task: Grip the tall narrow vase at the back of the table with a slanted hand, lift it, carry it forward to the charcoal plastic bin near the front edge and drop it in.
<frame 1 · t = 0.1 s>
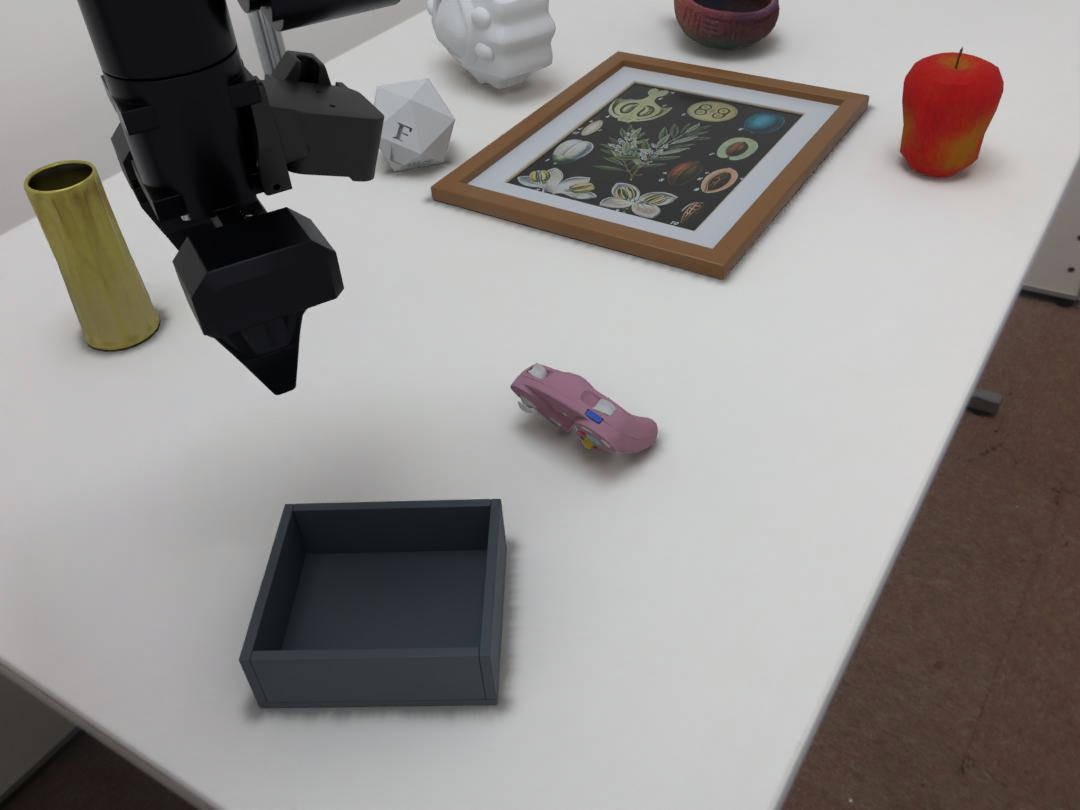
hand: (258, 344, 52), 16 cm above the table, tool pointing down, fingers open, 9 cm apart
picture frame: (660, 153, 102), on the table
apple: (934, 167, 96), on the table
bin: (391, 622, 58), on the table
bowl: (711, 44, 123), on the table
white ridged sculpture: (492, 82, 118), on the table
die: (416, 162, 103), on the table
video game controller: (583, 436, 69), on the table
vase: (124, 331, 83), on the table
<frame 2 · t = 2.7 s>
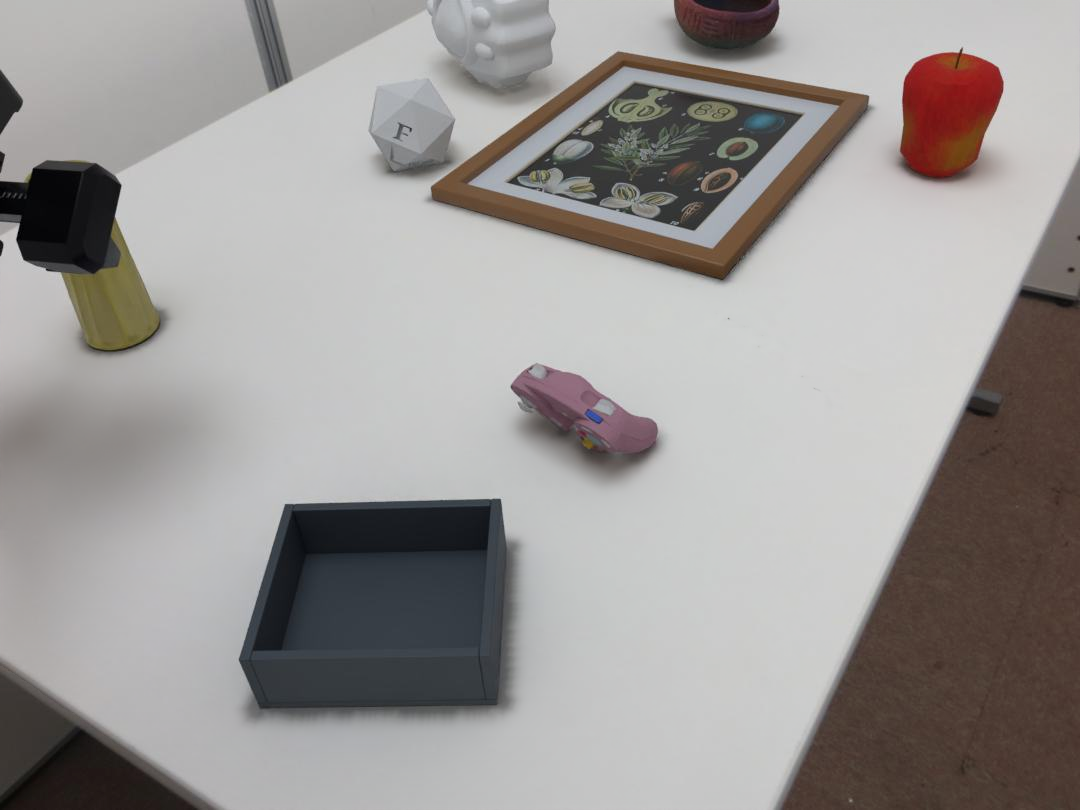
hand: (58, 254, 67), 13 cm above the table, tool tilted 40°, fingers open, 9 cm apart
nothing on the table moved.
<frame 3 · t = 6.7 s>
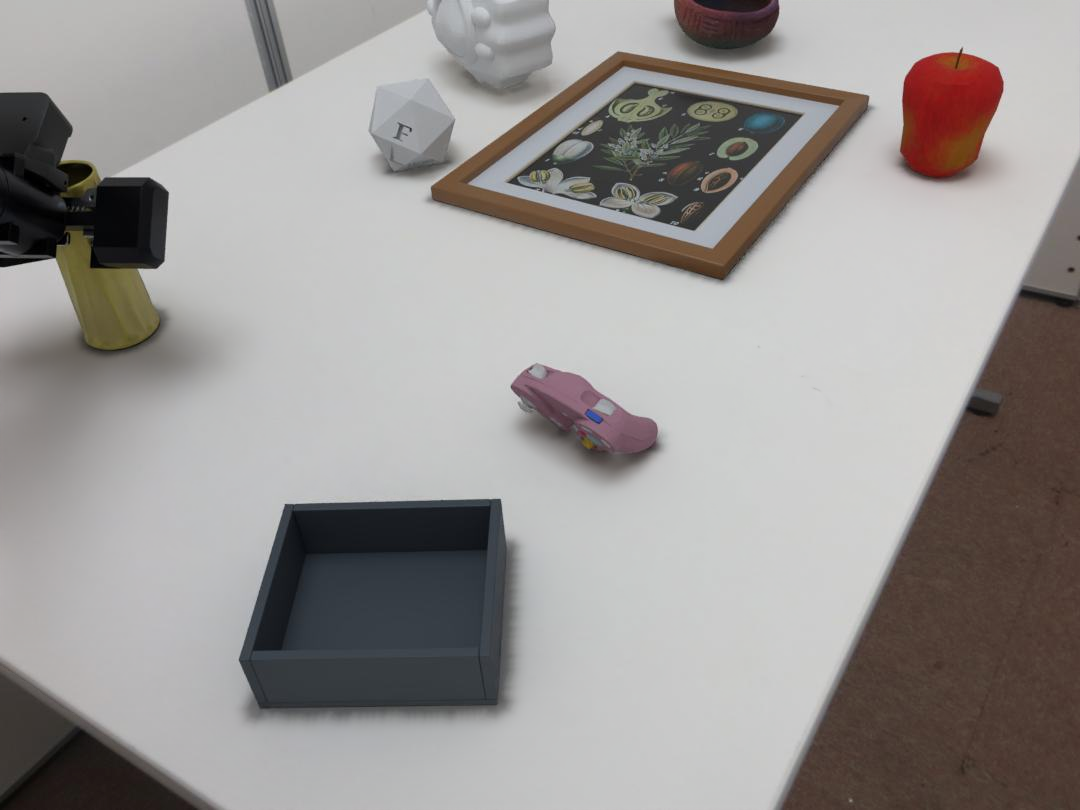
hand: (102, 249, 79), 7 cm above the table, tool tilted 45°, fingers closed on vase, 5 cm apart
vase: (124, 331, 83), on the table, touching gripper
everything else where it was.
when the fingers open (8 cm above the table, at t = 16.5 s): vase stays where it is, resting on bin.
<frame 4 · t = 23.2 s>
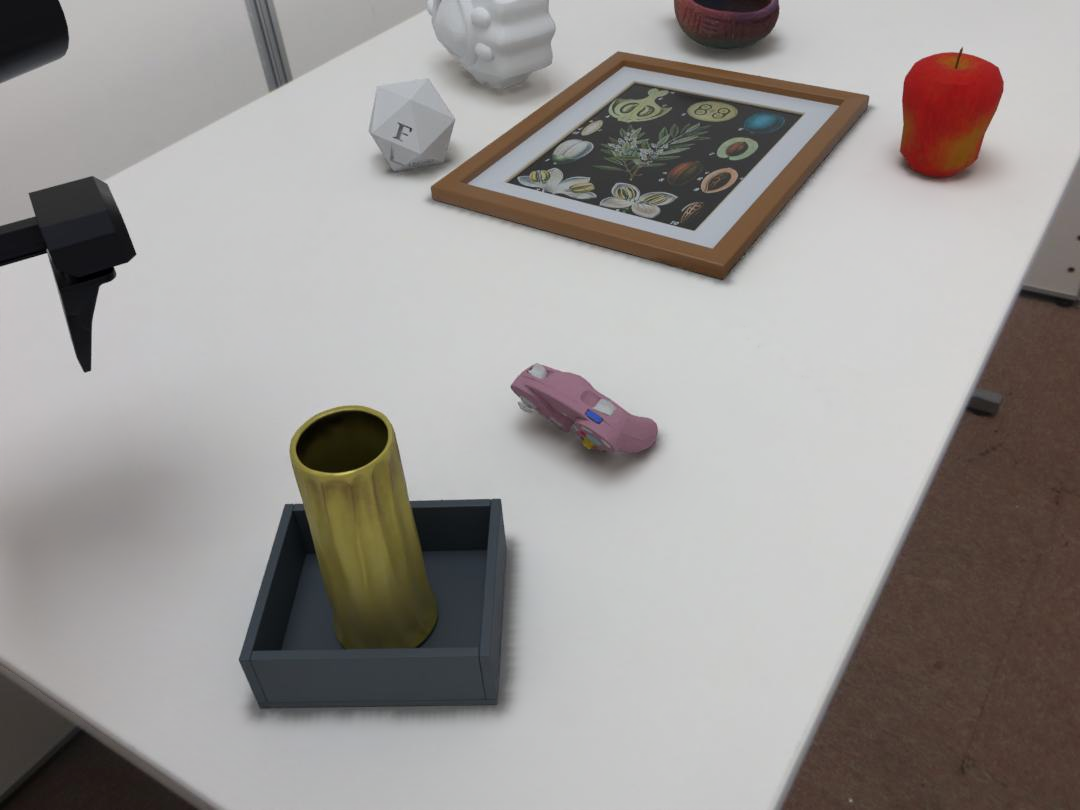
hand: (2, 395, 55), 13 cm above the table, tool pointing down, fingers open, 9 cm apart
vase: (387, 619, 58), resting on bin
everything else where it was.
at the end: vase inside the target area in the bin (0.2 cm from its centre), point 0.3 cm above the bin's base; the gripper is holding nothing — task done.
